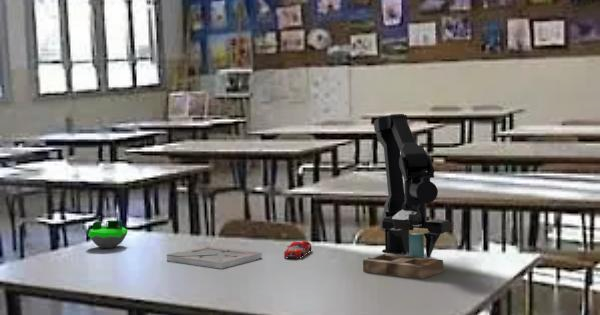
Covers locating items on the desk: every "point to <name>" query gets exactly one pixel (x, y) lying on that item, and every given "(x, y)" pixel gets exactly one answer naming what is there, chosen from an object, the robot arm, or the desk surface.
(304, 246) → the race car
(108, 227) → the green grey rounded piece
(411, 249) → the teal rounded cylinder
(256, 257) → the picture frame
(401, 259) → the socket block
